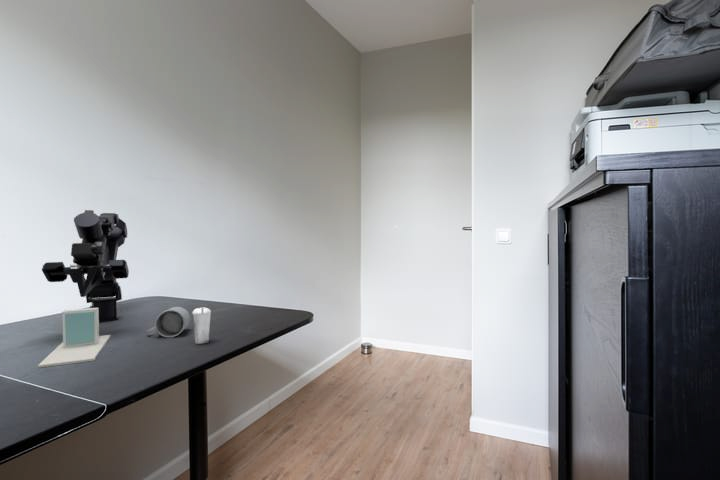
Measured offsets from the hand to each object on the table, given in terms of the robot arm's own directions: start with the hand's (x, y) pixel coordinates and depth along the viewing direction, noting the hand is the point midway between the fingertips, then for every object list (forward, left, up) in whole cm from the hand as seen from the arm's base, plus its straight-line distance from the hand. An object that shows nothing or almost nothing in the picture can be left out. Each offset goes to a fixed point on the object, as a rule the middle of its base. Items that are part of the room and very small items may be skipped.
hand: (82, 296), depth 96 cm
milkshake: (-22, +23, -12) cm, 34 cm away
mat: (+2, +8, -12) cm, 15 cm away
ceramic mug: (-18, +9, -12) cm, 24 cm away
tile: (+1, +5, -12) cm, 13 cm away
